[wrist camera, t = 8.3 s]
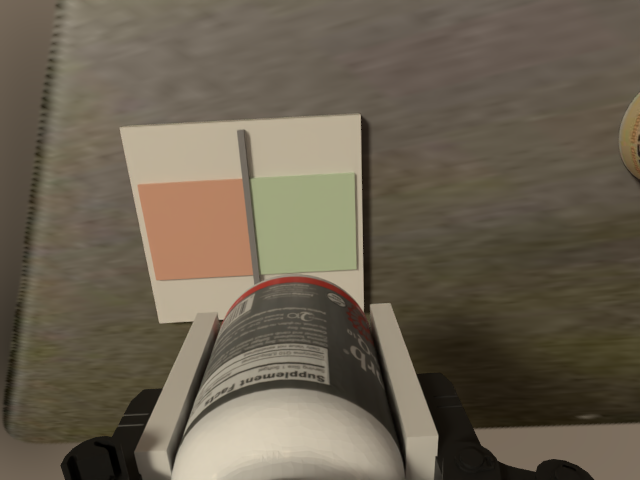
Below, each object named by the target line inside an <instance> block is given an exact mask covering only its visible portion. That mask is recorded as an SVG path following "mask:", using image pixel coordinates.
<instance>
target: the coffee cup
mask: <svg viewBox="0 0 640 480" xmlns="http://www.w3.org/2000/svg"><path fill="white" fill-rule="evenodd" d="M618 144H619V151H620V155H621V158H622V161H623V163H624V164H625V166H626V167H627V169H628V170H629V171H630V172H631V173H632V174H633V175H634V176H635V177H637V178H638V179H640V92H639V93H638V95H637V96H636V97H635V98H634V99H633V101H632V102H631V104H630V105H629V107H628V109H627V111H626V113H625V115H624V117H623V120H622V122H621V126H620V131H619V139H618Z"/></svg>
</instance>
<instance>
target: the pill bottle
mask: <svg viewBox="0 0 640 480" xmlns="http://www.w3.org/2000/svg"><path fill="white" fill-rule="evenodd" d="M171 480H405V468H404V463H403V458H402V455H401V451H400V447H399V442H398V438H397V434H396V430H395V427H394V423H393V419H392V415H391V411H390V407H389V403H388V399H387V395H386V391H385V387H384V382H383V377H382V374H381V370H380V366H379V362H378V358H377V354H376V350H375V346H374V341H373V338H372V334H371V330H370V327H369V324H368V321H367V319H366V316H365V314H364V312H363V311H362V309H361V307H360V306H359V304H358V303H357V302H356V301H355V300H354V299H353V297H352V296H350V295H349V294H348V293H347V292H346V291H345V290H343V289H342V288H340V287H339V286H337V285H336V284H334V283H332V282H329V281H327V280H325V279H322V278H319V277H315V276H310V275H302V274H288V275H280V276H276V277H272V278H269V279H266V280H264V281H261V282H259V283H257V284H255V285H254V286H252V287H250V288H249V289H247V290H246V291H245V292H244V293H243V294H241V295H240V296H239V297H238V298H237V299H236V301H235V302H234V303H233V304H232V306H231V307H230V309H229V310H228V312H227V314H226V316H225V318H224V320H223V322H222V324H221V327H220V330H219V333H218V336H217V339H216V342H215V345H214V347H213V350H212V353H211V357H210V359H209V362H208V365H207V368H206V371H205V374H204V377H203V380H202V383H201V386H200V388H199V391H198V394H197V397H196V400H195V402H194V405H193V409H192V411H191V414H190V417H189V420H188V422H187V426H186V428H185V432H184V434H183V437H182V440H181V442H180V445H179V448H178V451H177V455H176V458H175V463H174V467H173V471H172V476H171Z"/></svg>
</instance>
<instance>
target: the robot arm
mask: <svg viewBox="0 0 640 480" xmlns="http://www.w3.org/2000/svg"><path fill="white" fill-rule="evenodd" d="M219 330H220V325H219V318H218V312H209V313H197V315H196V317H195V320H194V322H193V324H192V326H191V328H190V330H189V333H188V335H187V337H186V339H185V341H184V344H183V346H182V348H181V350H180V352H179V355H178V357H177V359H176V361H175V363H174V366H173V368H172V370H171V372H170V374H169V377H168V379H167V381H166V383H165V385H164V388H163V389H145V390H143V391H142V392H140V393H139V394H138V395H137V396H136V397H135V398H134V399H133V400H132V401H131V402H130V404H129V406H128V408H127V410H126V412H125V413H124V417H122V419H121V421H120V423H119V426H118V427H117V428H116V430H115V432H114V434H113V436H112V437H108V436H102V437H95V438H92V439H90V440H87V441H84V442H82V443H81V444H79V445H78V446H76V447H75V448H73V449H72V450H71V451H70V452H69V453H68V454H67V455H66V456H65V458H64V460H63V462H62V463H61V468H62V471H63V475H64V477H65V480H171V476H172V471H173V467H174V463H175V458H176V455H177V451H178V448H179V445H180V442H181V440H182V437H183V434H184V432H185V428H186V426H187V422H188V420H189V417H190V414H191V411H192V409H193V405H194V402H195V400H196V397H197V394H198V391H199V388H200V386H201V383H202V380H203V377H204V374H205V371H206V368H207V365H208V362H209V359H210V357H211V353H212V350H213V347H214V345H215V342H216V339H217V336H218V333H219ZM370 330H371V334H372V338H373V341H374V346H375V350H376V354H377V358H378V362H379V366H380V370H381V374H382V377H383V382H384V387H385V391H386V395H387V399H388V403H389V407H390V411H391V415H392V419H393V423H394V427H395V430H396V434H397V438H398V442H399V447H400V451H401V455H402V458H403V463H404V468H405V480H594V479H593V478H592V477H591V476H590V475H589V473H588V472H586V471H585V470H583V469H582V468H580V467H579V466H577V465H575V464H572V463H569V462H567V461H563V460H556V459H552V460H547V461H543V462H542V463H541V464H539V465H538V467H537V470H536V472H533V471H529V470H524V469H519V468H515V467H511V466H508V465H505V464H503V463H501V462H499V461H497V459H496V457H495V456H494V455H493V454H492V453H491V452H490V451H489V450H487V449H486V448H484V447H483V446H481V444H480V442H479V440H478V438H477V436H476V434H475V431H474V429H473V427H472V425H471V423H470V421H469V419H468V417H467V414H466V412H465V410H464V408H463V407H462V404H461V402H460V400H459V397H458V396H457V393H456V391H455V389H454V387H453V385H452V383H451V382H450V381H449V380H448V379H447V378H446V377H444V376H443V375H442V374H441V373H425V374H416V373H415V370H414V367H413V364H412V362H411V359H410V356H409V354H408V351H407V348H406V345H405V343H404V340H403V337H402V334H401V332H400V329H399V326H398V323H397V321H396V318H395V315H394V312H393V310H392V307H391V304H390V303H385V304H370Z"/></svg>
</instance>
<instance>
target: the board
mask: <svg viewBox="0 0 640 480" xmlns="http://www.w3.org/2000/svg"><path fill="white" fill-rule="evenodd" d="M120 132H121V137H122V142H123V147H124V152H125V157H126V162H127V166H128V171H129V176H130V181H131V186H132V191H133V196H134V201H135V206H136V210H137V215H138V220H139V225H140V230H141V235H142V240H143V245H144V250H145V254H146V259H147V264H148V269H149V274H150V279H151V284H152V289H153V294H154V299H155V303H156V308H157V313H158V318H159V323H173V322H191V321H194V320H195V317H196V315H197V313H209V312H218V318H219V320H224V318H225V316H226V314H227V312H228V310H229V309H230V307H231V306H232V304H233V303H234V302H235V301H236V299H237V298H238V297H239V296H240V295H241V294H243V293H244V292H245V291H246V290H247V289H249V288H250V287H252V286H254V285H255V284H257V283H259V282H261V281H264V280H266V279H269V278H272V277H276V276H280V275H288V274H302V275H310V276H315V277H319V278H322V279H325V280H327V281H329V282H332V283H334V284H336V285H337V286H339V287H340V288H342V289H343V290H345V291H346V292H347V293H348V294H349V295H350V296H352V297H353V299H354V300H355V301H356V302H357V303H358V304H359V306H360V307H361V309H362V311H363V312H364V284H363V224H362V164H361V115H360V114H359V113H356V114H338V115H319V116H300V117H282V118H263V119H244V120H226V121H207V122H188V123H170V124H151V125H132V126H124V127H120Z"/></svg>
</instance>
